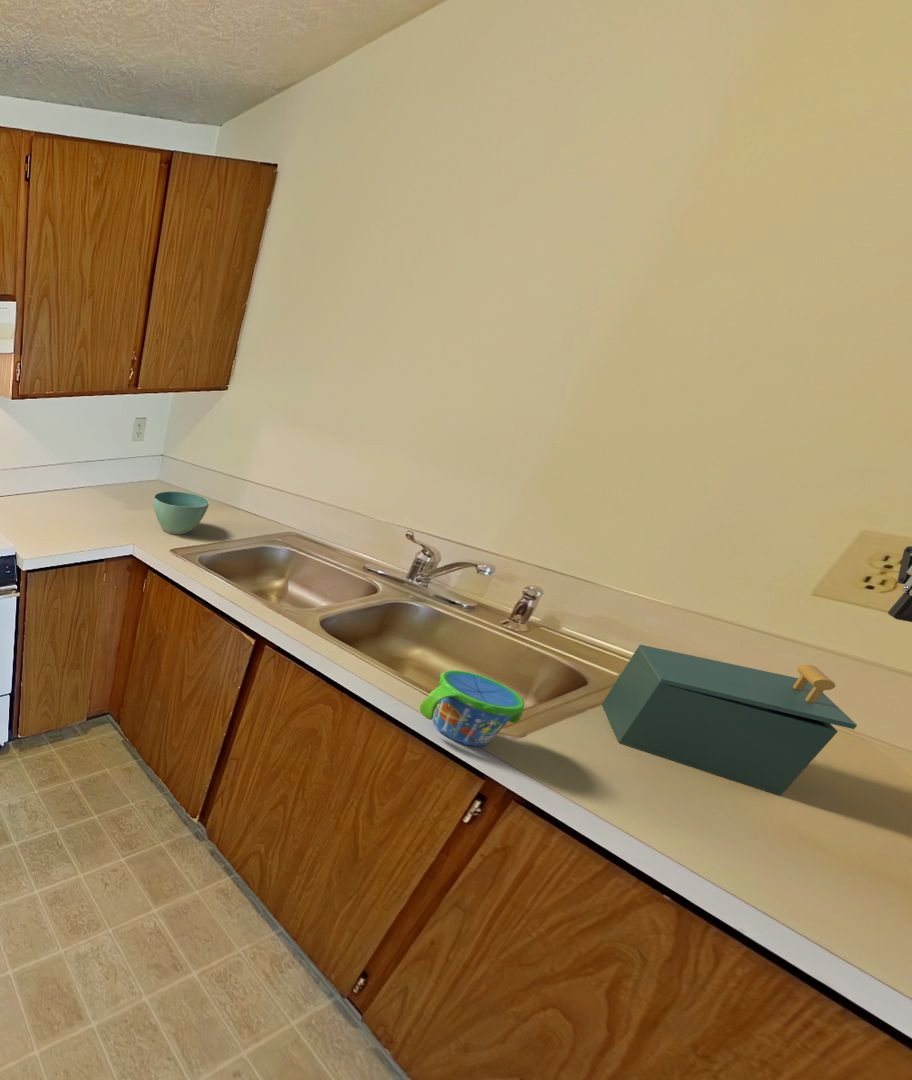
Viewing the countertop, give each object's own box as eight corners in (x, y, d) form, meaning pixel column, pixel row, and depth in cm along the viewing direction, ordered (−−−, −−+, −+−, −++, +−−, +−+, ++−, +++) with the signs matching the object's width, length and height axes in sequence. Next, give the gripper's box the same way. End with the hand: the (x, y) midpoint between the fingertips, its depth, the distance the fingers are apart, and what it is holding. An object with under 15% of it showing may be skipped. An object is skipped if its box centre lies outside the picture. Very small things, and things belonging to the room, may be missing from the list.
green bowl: (184, 543, 173) (190, 510, 168) (138, 528, 187) (143, 496, 182) (212, 532, 183) (219, 500, 178) (167, 518, 197) (172, 488, 192)
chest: (745, 747, 89) (794, 687, 84) (780, 796, 80) (838, 731, 75) (601, 704, 99) (637, 648, 94) (618, 742, 90) (658, 682, 85)
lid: (807, 684, 83) (825, 658, 81) (854, 729, 74) (875, 701, 72) (637, 647, 94) (650, 624, 92) (659, 682, 85) (673, 657, 83)
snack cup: (483, 717, 96) (506, 673, 92) (533, 760, 86) (561, 713, 82) (393, 708, 98) (411, 665, 94) (431, 749, 88) (454, 703, 84)
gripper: (1108, 526, 59) (989, 649, 66) (1019, 500, 68) (922, 610, 75) (980, 511, 63) (881, 628, 70) (913, 489, 73) (831, 594, 79)
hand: (903, 618), depth 72 cm, fingers closed
